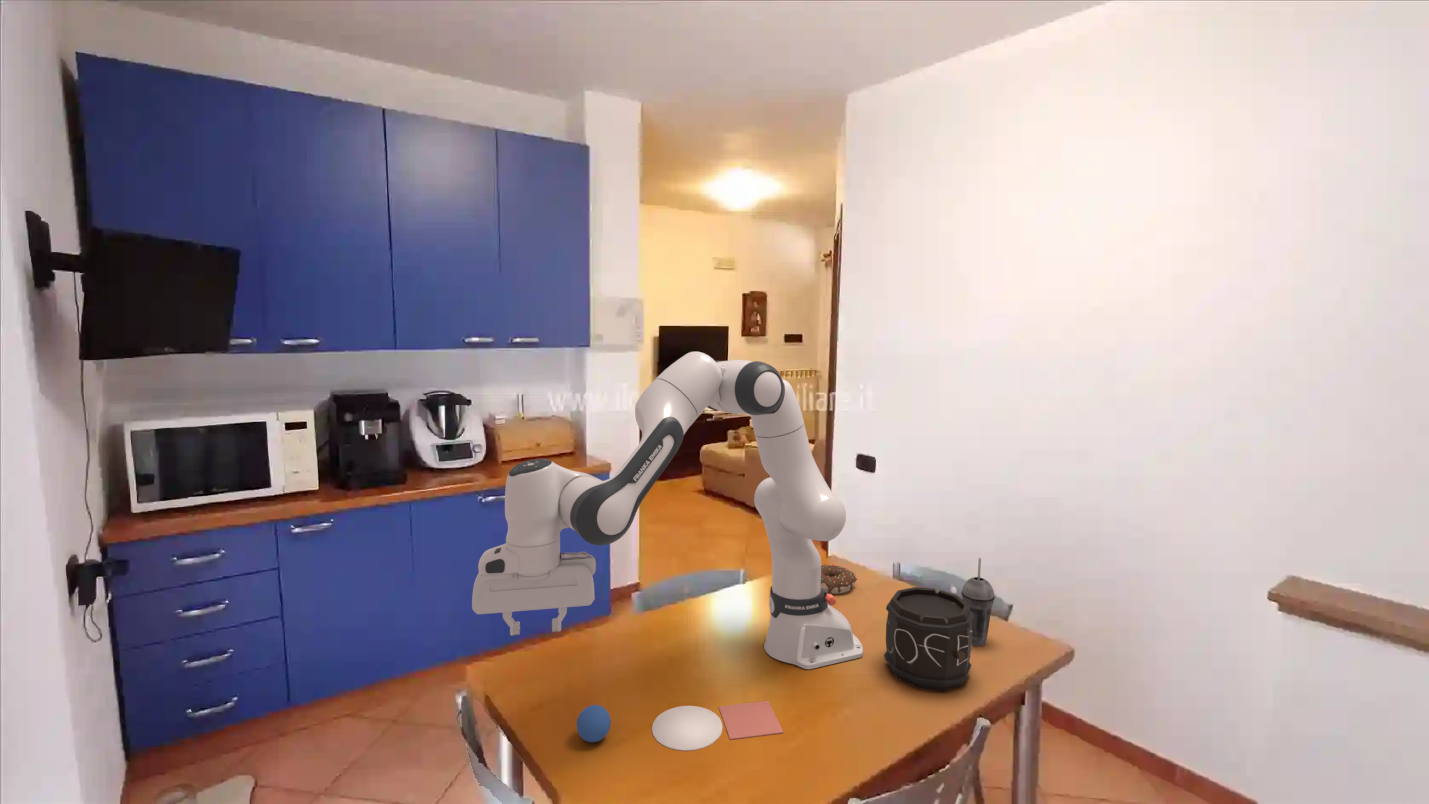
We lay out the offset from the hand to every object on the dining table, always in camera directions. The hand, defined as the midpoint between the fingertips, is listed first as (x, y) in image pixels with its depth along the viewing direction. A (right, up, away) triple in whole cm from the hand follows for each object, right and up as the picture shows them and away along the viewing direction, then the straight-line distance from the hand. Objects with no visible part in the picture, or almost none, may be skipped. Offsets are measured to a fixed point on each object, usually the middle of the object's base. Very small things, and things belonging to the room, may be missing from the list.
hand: (536, 632), depth 111 cm
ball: (+9, -18, +4) cm, 21 cm away
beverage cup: (+93, -17, +40) cm, 103 cm away
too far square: (+38, -20, +10) cm, 44 cm away
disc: (+26, -21, +8) cm, 34 cm away
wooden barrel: (+77, -19, +27) cm, 84 cm away
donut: (+65, -13, +72) cm, 98 cm away
